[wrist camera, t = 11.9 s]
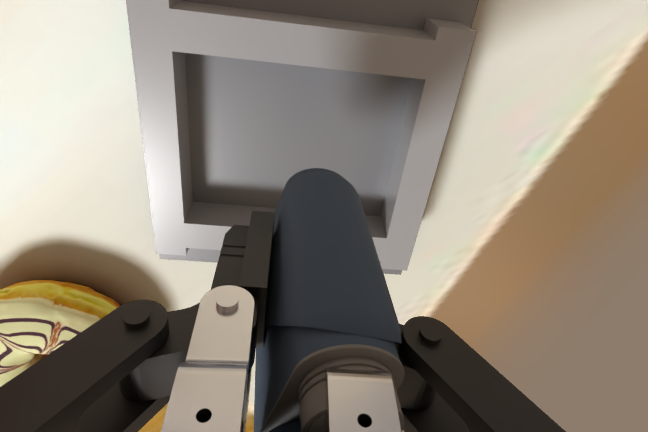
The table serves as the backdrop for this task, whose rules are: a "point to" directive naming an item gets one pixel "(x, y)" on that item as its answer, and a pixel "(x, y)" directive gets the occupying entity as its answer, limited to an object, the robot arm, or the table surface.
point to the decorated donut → (44, 320)
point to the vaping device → (321, 304)
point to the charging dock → (293, 109)
